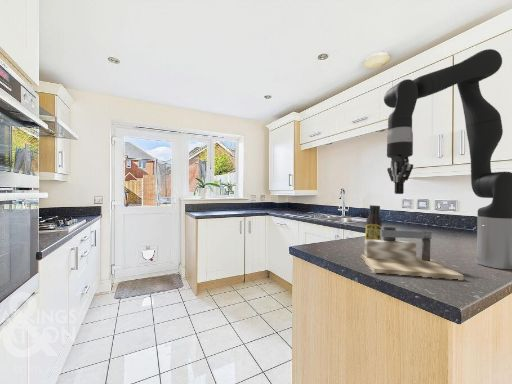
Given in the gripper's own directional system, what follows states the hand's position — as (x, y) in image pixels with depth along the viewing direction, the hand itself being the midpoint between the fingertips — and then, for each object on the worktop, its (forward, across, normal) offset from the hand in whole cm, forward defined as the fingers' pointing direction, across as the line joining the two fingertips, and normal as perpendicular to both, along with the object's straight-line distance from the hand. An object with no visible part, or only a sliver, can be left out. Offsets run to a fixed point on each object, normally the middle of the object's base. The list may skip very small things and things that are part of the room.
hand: (398, 193), depth 80 cm
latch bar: (+16, +6, -5) cm, 17 cm away
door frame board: (+25, 0, -2) cm, 25 cm away
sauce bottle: (+25, +23, -1) cm, 34 cm away
